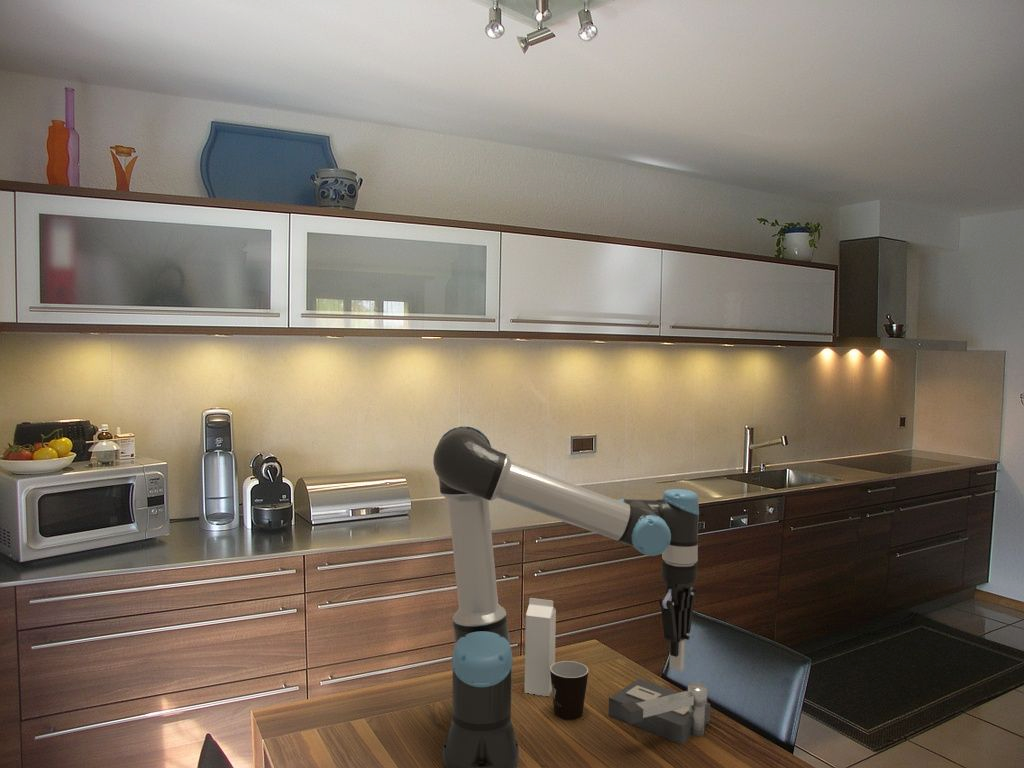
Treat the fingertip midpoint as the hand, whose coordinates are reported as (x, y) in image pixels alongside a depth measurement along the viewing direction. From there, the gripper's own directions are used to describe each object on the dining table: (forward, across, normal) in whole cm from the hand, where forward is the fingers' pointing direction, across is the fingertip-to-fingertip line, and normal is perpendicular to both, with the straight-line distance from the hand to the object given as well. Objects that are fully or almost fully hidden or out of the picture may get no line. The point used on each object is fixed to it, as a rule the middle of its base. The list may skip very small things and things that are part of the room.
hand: (676, 668), depth 156 cm
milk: (+13, +8, -32) cm, 35 cm away
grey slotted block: (+12, 0, -4) cm, 13 cm away
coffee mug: (+13, +10, -21) cm, 27 cm away
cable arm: (+6, +8, +2) cm, 10 cm away
